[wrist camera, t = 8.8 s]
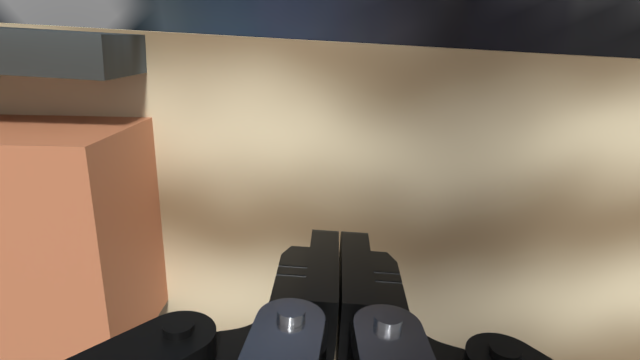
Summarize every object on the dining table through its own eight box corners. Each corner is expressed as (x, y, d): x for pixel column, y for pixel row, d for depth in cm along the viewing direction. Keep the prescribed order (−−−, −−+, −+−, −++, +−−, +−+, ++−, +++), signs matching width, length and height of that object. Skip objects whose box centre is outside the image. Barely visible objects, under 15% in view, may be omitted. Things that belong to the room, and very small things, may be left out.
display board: (-79, 18, 17) (-238, 11, 13) (695, 61, 17) (837, 71, 12) (-27, 306, 21) (-135, 387, 16) (615, 348, 20) (701, 443, 16)
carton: (-51, 113, 16) (-189, 141, 12) (152, 117, 16) (85, 146, 12) (-12, 294, 18) (-119, 373, 14) (168, 299, 18) (116, 381, 14)
